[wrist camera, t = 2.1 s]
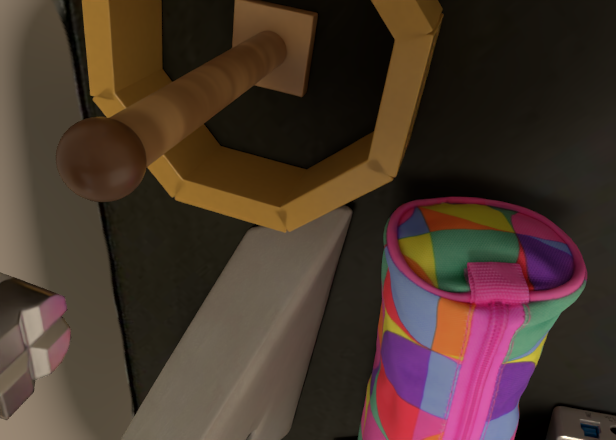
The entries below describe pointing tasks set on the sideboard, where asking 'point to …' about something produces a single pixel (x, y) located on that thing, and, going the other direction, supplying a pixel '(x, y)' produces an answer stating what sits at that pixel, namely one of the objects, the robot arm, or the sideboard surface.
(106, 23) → the brass ring
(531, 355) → the pencil case
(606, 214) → the sideboard surface
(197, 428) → the grey wedge
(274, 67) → the hanger post
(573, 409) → the multiport hub
